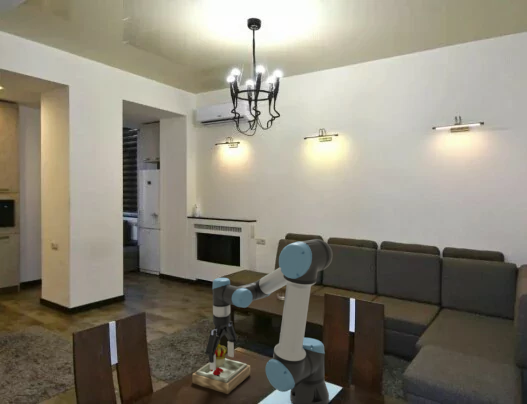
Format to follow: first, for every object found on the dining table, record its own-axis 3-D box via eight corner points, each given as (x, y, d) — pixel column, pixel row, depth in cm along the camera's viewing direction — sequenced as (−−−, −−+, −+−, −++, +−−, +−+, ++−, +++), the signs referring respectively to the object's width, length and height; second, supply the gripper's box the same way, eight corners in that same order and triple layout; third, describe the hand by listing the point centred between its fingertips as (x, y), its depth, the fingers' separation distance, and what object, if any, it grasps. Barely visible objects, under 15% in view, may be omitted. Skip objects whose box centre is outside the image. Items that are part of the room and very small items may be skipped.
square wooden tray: (250, 374, 161) (250, 363, 161) (227, 394, 145) (227, 382, 145) (217, 365, 169) (217, 355, 169) (192, 383, 153) (192, 371, 153)
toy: (227, 375, 155) (230, 339, 157) (220, 381, 149) (223, 343, 150) (212, 372, 157) (214, 337, 159) (205, 378, 151) (208, 341, 152)
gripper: (230, 305, 169) (230, 349, 170) (196, 321, 147) (197, 373, 148) (243, 307, 166) (244, 353, 166) (211, 324, 144) (211, 377, 144)
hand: (222, 362), depth 157 cm, fingers open, 13 cm apart
